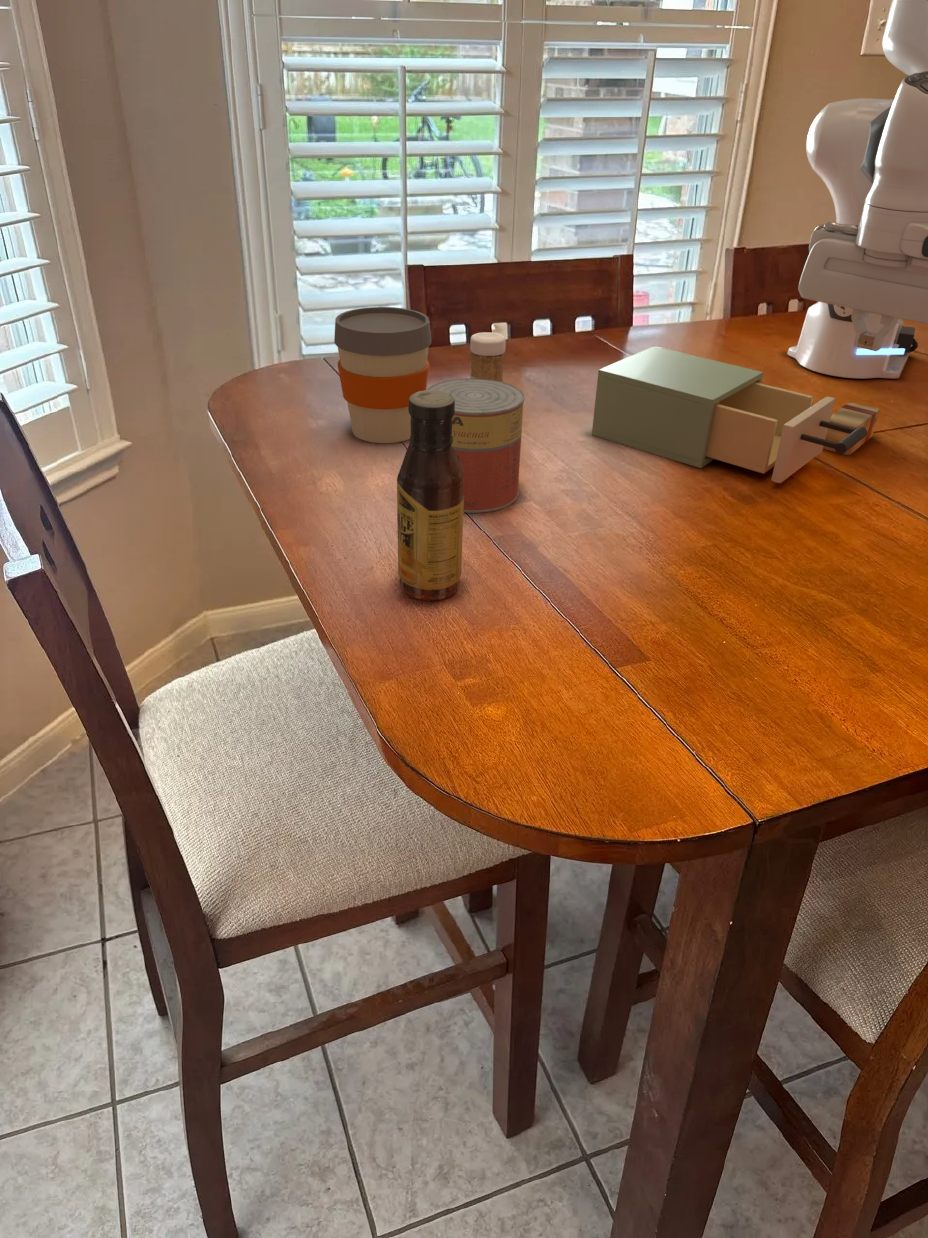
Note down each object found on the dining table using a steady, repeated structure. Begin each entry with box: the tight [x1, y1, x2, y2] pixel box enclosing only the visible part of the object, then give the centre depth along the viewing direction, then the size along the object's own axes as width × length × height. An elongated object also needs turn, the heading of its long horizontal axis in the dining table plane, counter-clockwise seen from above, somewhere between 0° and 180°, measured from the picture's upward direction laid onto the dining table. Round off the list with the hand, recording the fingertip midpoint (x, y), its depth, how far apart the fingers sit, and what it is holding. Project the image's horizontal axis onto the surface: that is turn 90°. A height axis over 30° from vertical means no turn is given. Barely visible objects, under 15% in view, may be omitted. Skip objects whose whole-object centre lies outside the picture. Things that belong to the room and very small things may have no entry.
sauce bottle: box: [396, 389, 464, 602], centre depth 86 cm, size 7×6×20 cm
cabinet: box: [591, 345, 764, 469], centre depth 124 cm, size 17×15×9 cm
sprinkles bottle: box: [469, 331, 507, 382], centre depth 121 cm, size 5×5×13 cm
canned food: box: [426, 377, 525, 514], centre depth 107 cm, size 11×11×12 cm
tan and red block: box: [823, 401, 881, 457], centre depth 125 cm, size 9×4×4 cm, turn 140°
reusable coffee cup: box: [333, 306, 432, 444], centre depth 121 cm, size 13×12×15 cm
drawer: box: [706, 382, 867, 484], centre depth 117 cm, size 21×13×7 cm, turn 50°
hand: (866, 348), depth 116 cm, fingers closed
